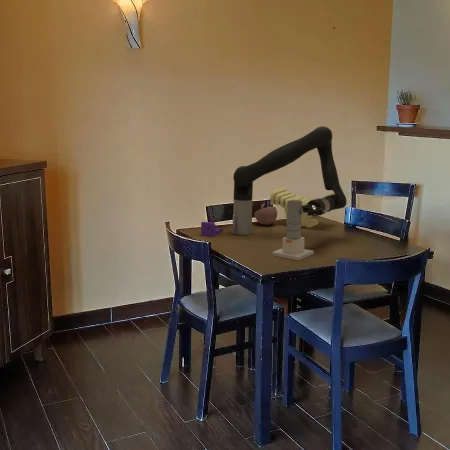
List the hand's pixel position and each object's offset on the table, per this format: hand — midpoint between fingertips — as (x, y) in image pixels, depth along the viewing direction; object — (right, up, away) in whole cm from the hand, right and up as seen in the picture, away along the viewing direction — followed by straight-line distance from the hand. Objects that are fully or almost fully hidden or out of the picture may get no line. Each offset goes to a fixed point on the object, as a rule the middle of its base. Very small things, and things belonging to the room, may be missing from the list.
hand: (299, 212), depth 248 cm
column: (-3, -17, 0) cm, 17 cm away
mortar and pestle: (-11, -5, +59) cm, 60 cm away
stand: (-3, -18, 0) cm, 19 cm away
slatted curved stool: (+9, -5, +59) cm, 60 cm away
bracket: (-39, -10, +38) cm, 55 cm away
